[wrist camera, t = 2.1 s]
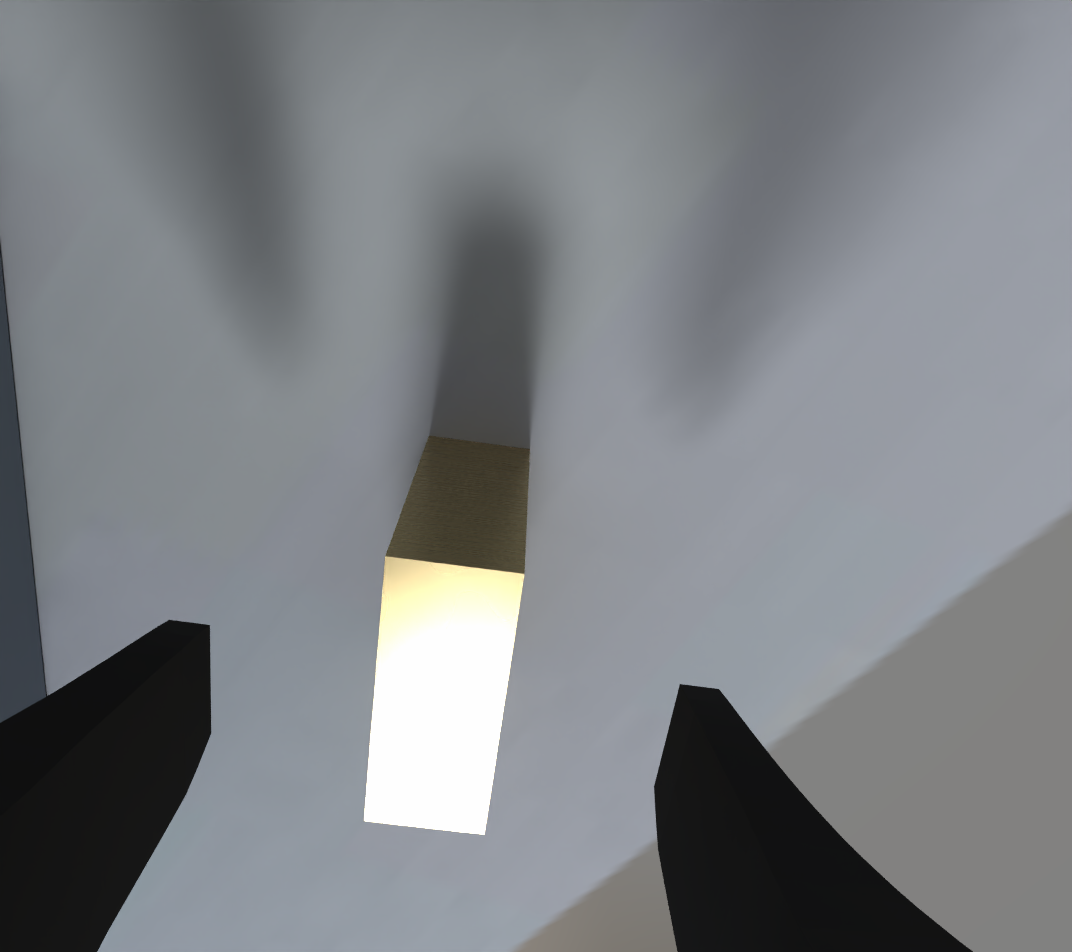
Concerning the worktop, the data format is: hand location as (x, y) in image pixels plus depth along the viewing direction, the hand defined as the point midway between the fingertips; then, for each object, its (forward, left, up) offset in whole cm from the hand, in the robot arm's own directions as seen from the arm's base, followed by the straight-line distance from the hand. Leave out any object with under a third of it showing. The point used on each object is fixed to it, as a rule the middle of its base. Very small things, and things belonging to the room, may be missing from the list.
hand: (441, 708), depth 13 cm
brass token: (0, 0, -5) cm, 5 cm away
